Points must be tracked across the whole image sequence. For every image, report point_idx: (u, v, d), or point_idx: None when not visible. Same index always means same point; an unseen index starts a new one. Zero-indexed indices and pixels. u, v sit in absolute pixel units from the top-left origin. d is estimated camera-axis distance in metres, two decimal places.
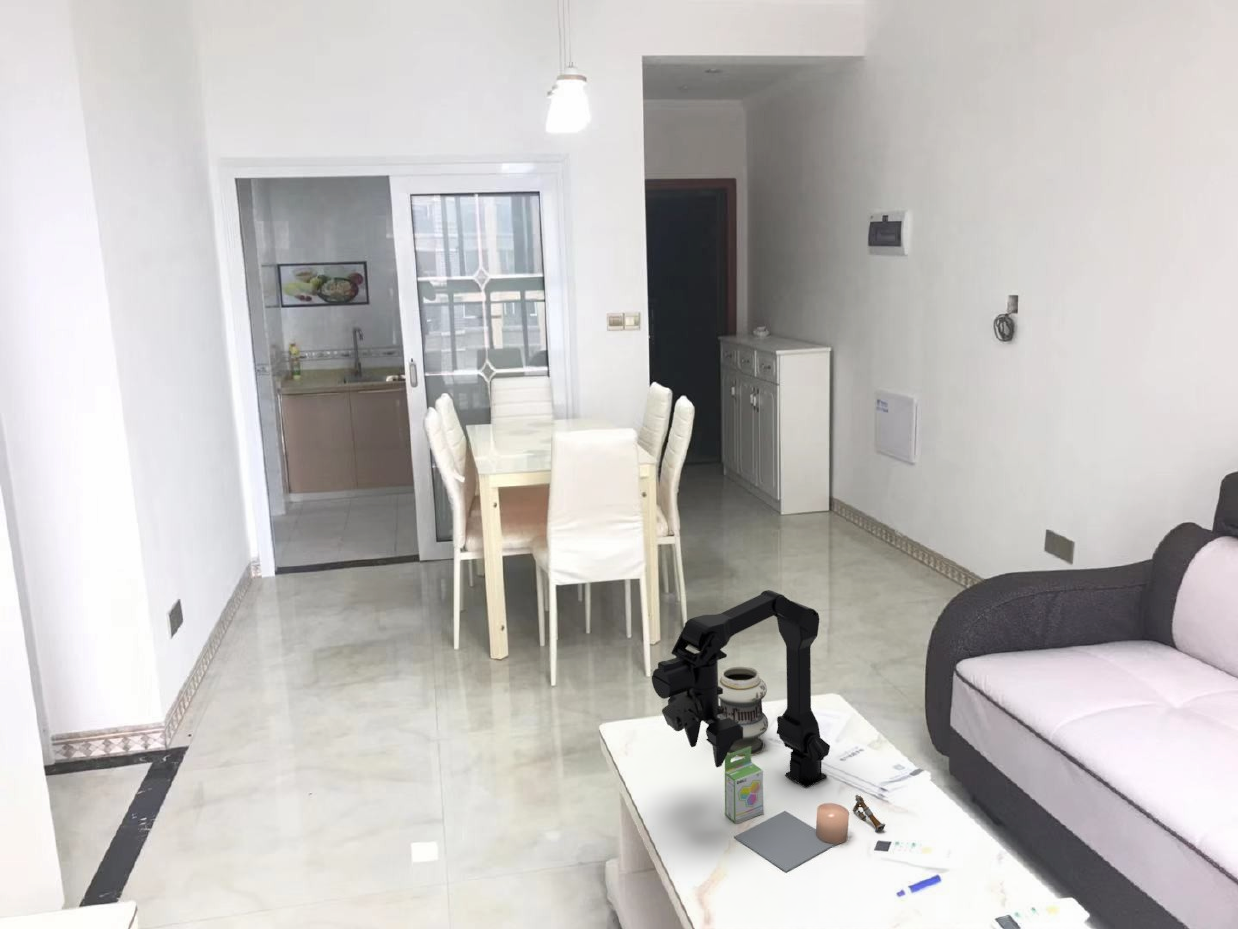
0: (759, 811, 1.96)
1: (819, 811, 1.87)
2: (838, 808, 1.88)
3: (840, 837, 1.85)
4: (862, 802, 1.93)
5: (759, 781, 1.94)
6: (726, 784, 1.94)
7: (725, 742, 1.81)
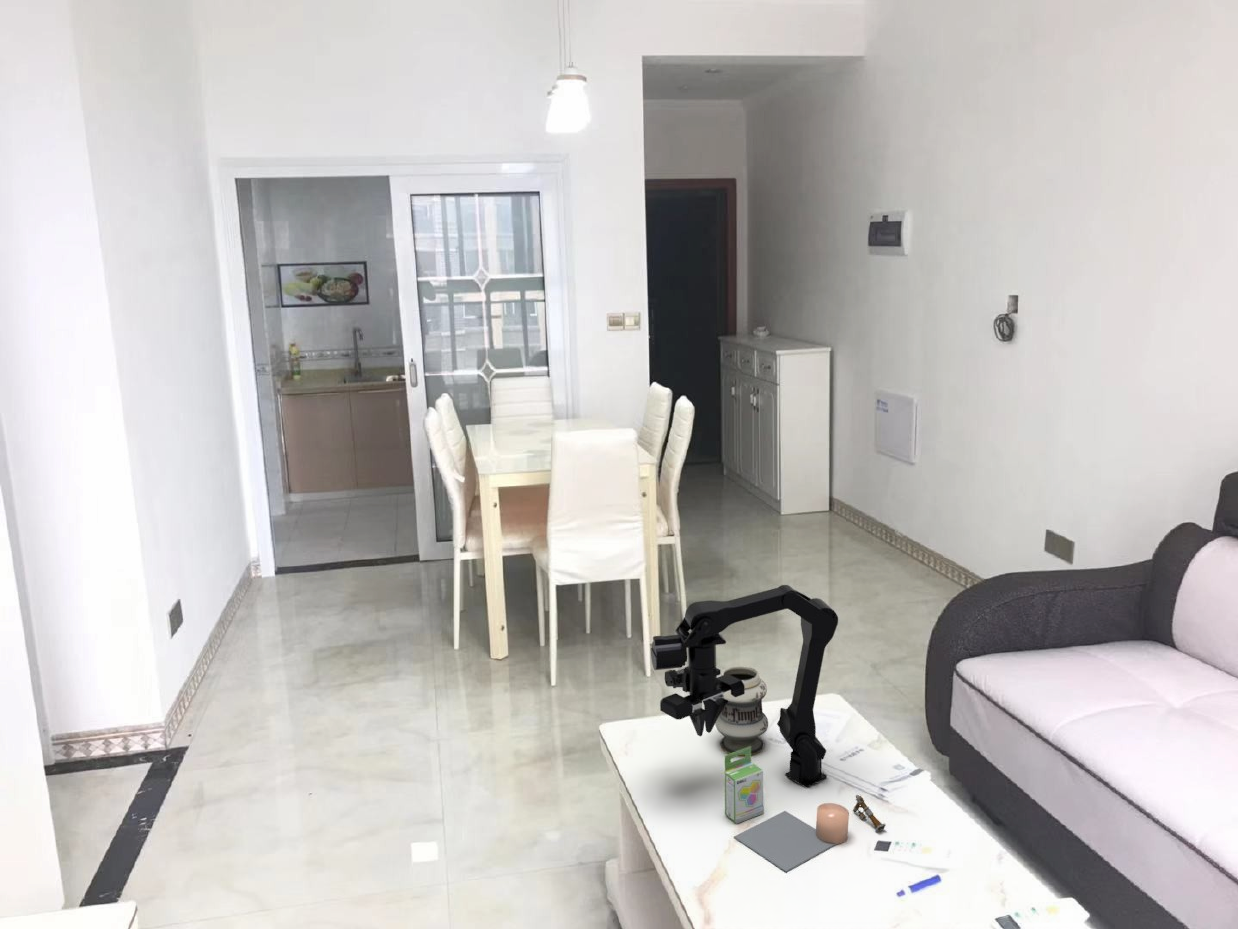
0: (759, 811, 1.96)
1: (819, 811, 1.87)
2: (838, 808, 1.88)
3: (840, 837, 1.85)
4: (862, 802, 1.93)
5: (759, 781, 1.94)
6: (726, 784, 1.94)
7: (664, 711, 1.97)
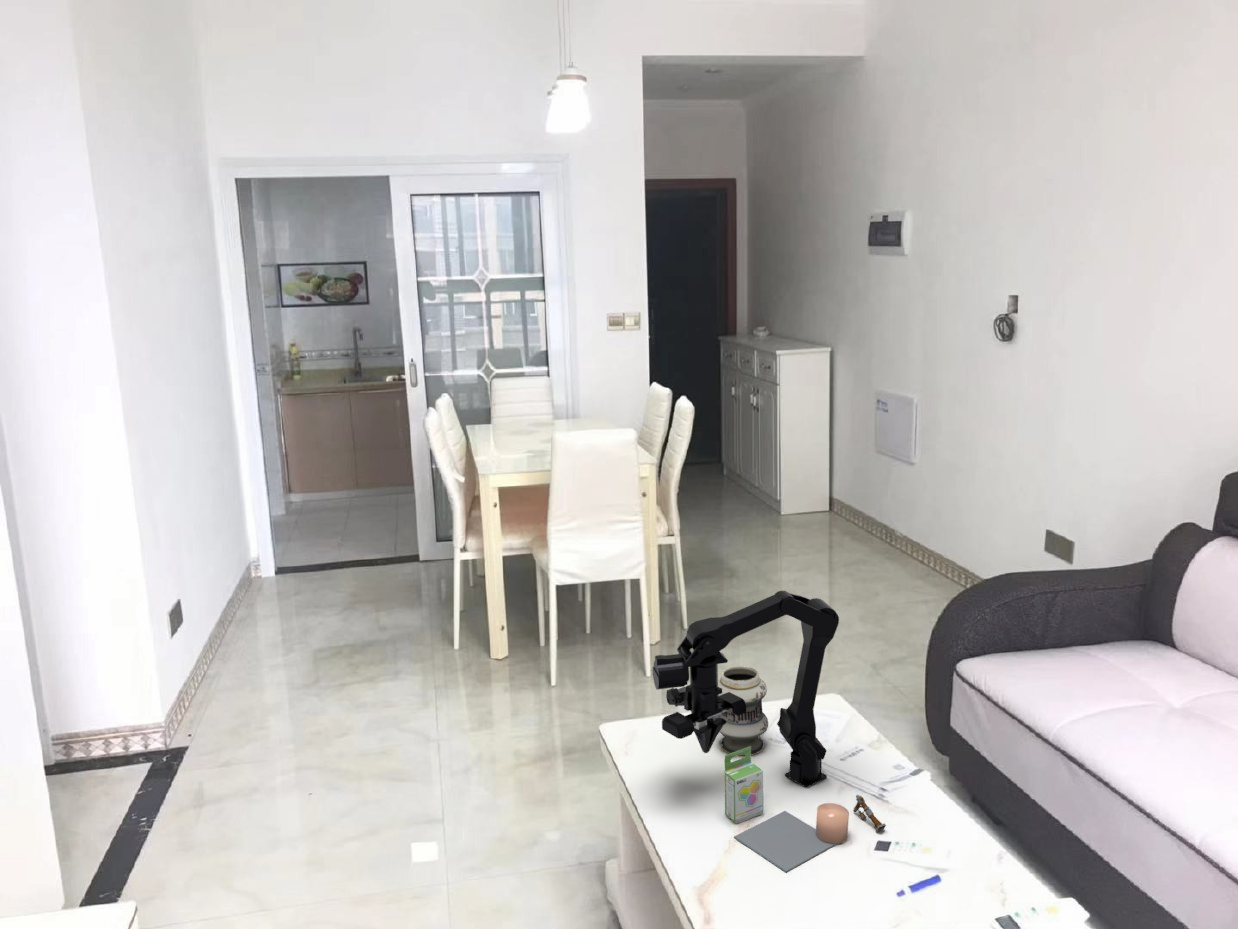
0: (759, 811, 1.96)
1: (819, 811, 1.87)
2: (838, 808, 1.88)
3: (840, 837, 1.85)
4: (863, 802, 1.93)
5: (759, 781, 1.94)
6: (726, 784, 1.94)
7: (665, 729, 1.98)
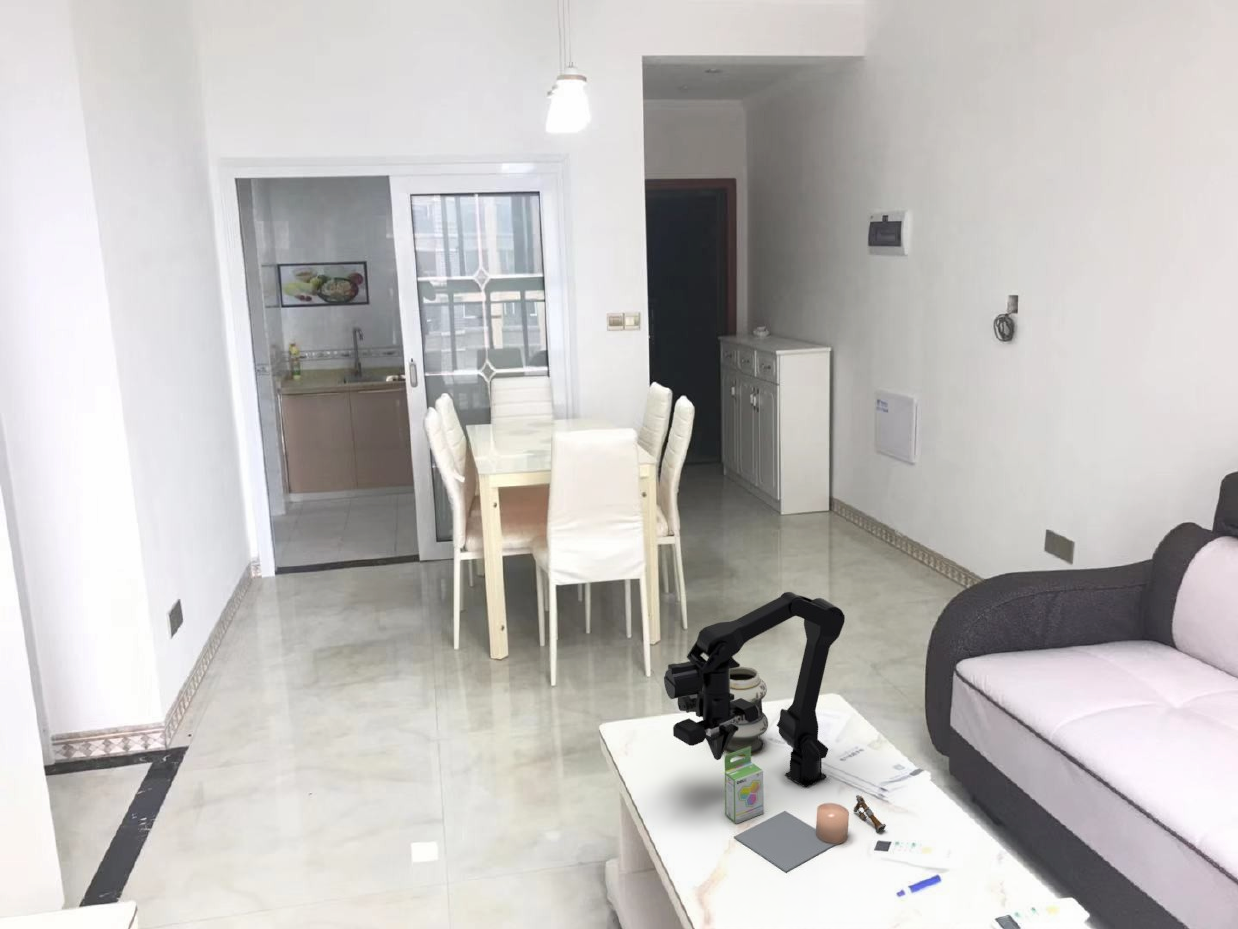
0: (759, 811, 1.96)
1: (819, 811, 1.87)
2: (838, 808, 1.88)
3: (840, 837, 1.85)
4: (863, 802, 1.93)
5: (759, 781, 1.94)
6: (726, 784, 1.94)
7: (677, 736, 1.95)
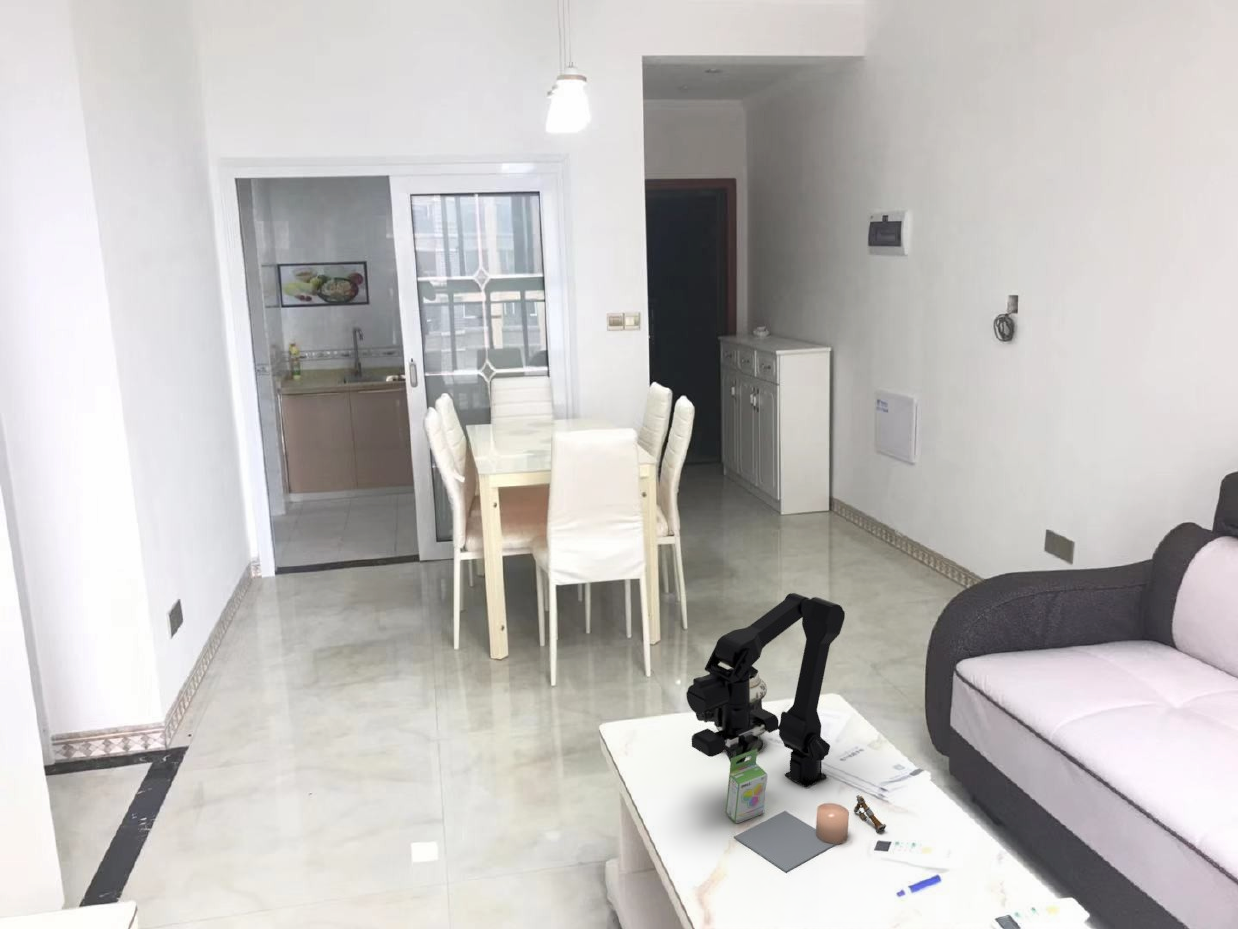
0: (759, 811, 1.96)
1: (819, 811, 1.87)
2: (838, 808, 1.88)
3: (840, 837, 1.85)
4: (863, 802, 1.93)
5: (763, 784, 1.93)
6: (730, 785, 1.93)
7: (695, 747, 1.90)
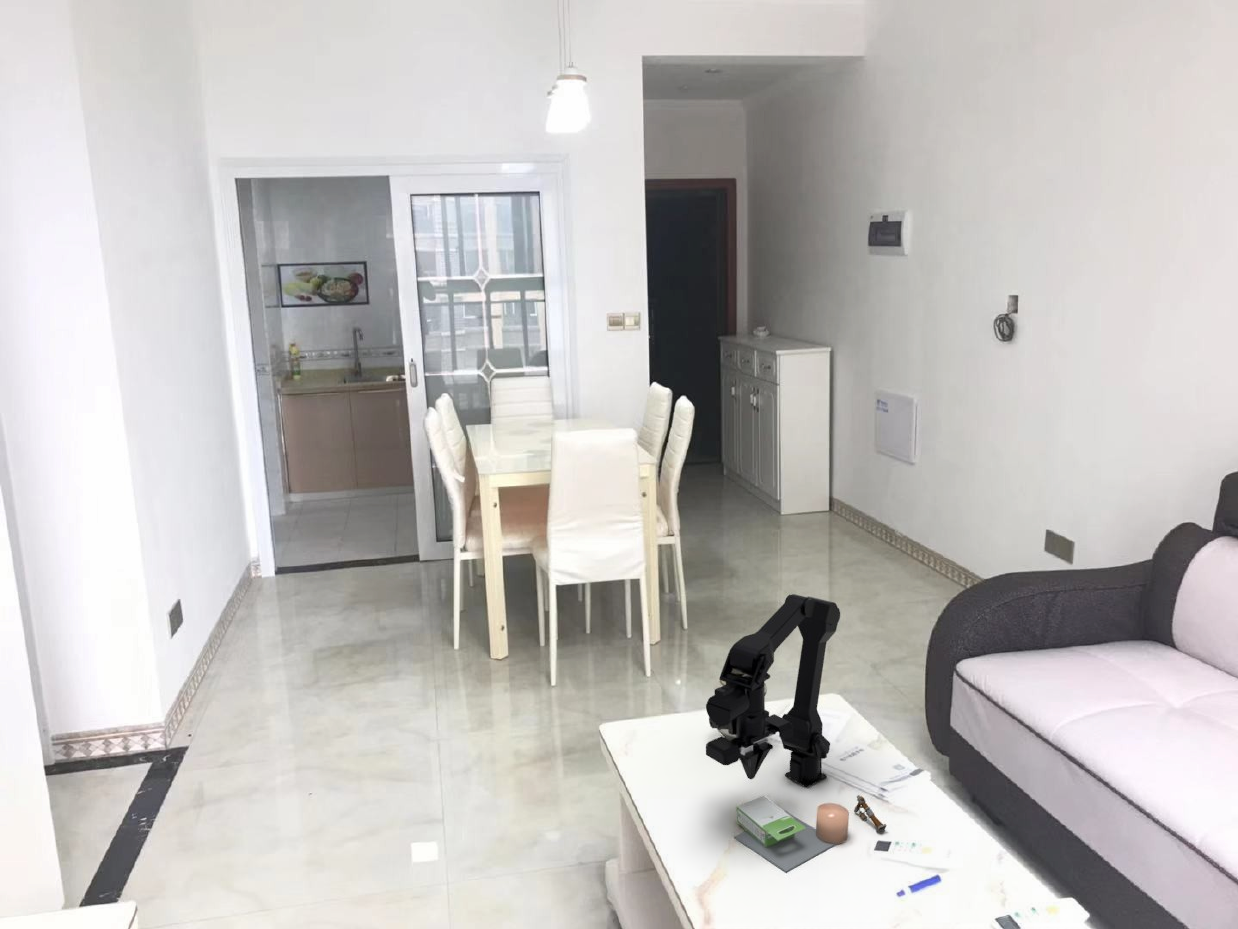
0: None
1: (819, 811, 1.87)
2: (838, 808, 1.88)
3: (840, 837, 1.85)
4: (863, 802, 1.93)
5: None
6: (758, 827, 1.86)
7: (710, 755, 1.87)
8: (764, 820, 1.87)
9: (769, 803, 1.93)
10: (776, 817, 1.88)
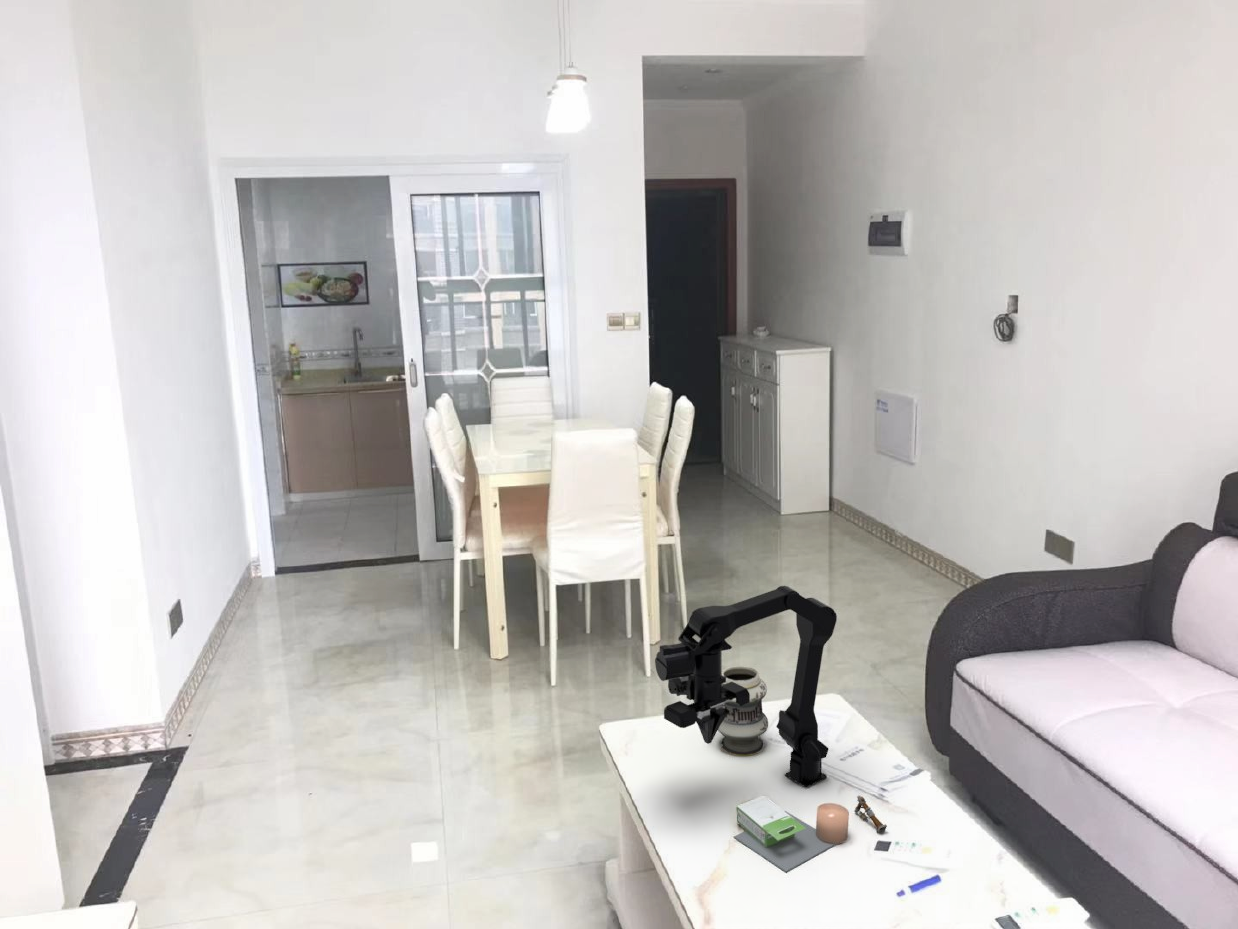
0: None
1: (819, 811, 1.87)
2: (838, 808, 1.88)
3: (840, 837, 1.85)
4: (864, 803, 1.93)
5: None
6: (758, 827, 1.86)
7: (667, 719, 1.93)
8: (764, 820, 1.87)
9: (769, 803, 1.93)
10: (776, 817, 1.88)
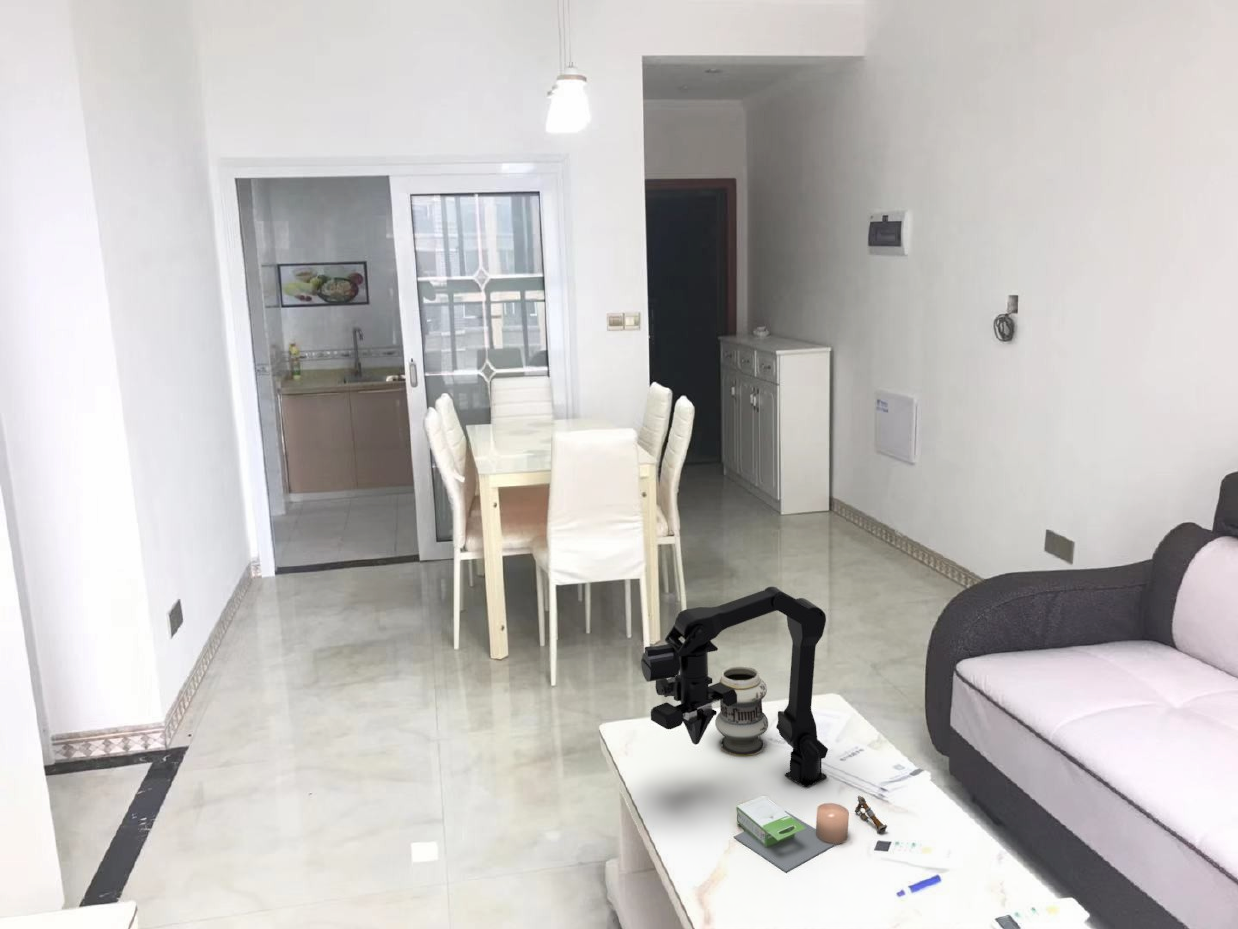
0: None
1: (819, 811, 1.87)
2: (838, 808, 1.88)
3: (840, 837, 1.85)
4: (864, 803, 1.92)
5: None
6: (758, 827, 1.86)
7: (654, 720, 1.93)
8: (764, 820, 1.87)
9: (769, 803, 1.93)
10: (776, 817, 1.88)
